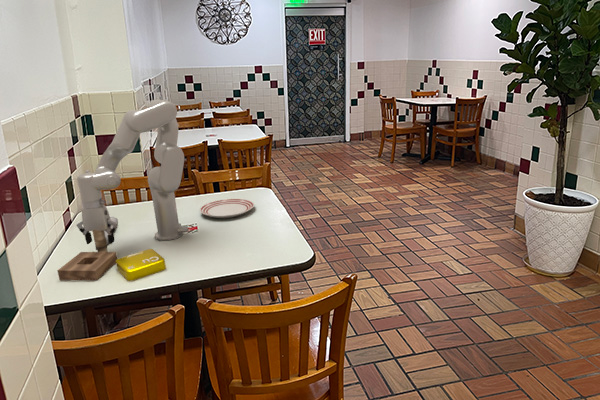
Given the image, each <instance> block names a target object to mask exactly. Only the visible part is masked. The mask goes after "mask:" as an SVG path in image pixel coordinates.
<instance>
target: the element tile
mask: <svg viewBox="0 0 600 400" xmlns="http://www.w3.org/2000/svg"><path fill="white" fill-rule="evenodd" d="M115 265H116V269H117V272H119V274H121V276H122V277H123V278H124V279H125V280H126V281H127V282H128V281H129V282H133V281H134V282H135V281H136V280H139V279H142V278H145V277H149V276H151V275H154V274H157V273H160V272H163V271H165V270H166V269H167V267H166V260H165V257H163V256H162V255H160V254H159V253H158V252H157V251H156V250H154V249H152V248H149V249H146V250H141V251H138V252H134V253H131V254H128V255H125V256H122V257H119V258H117V260H116V263H115Z"/></svg>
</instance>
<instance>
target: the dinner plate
mask: <svg viewBox="0 0 600 400" xmlns="http://www.w3.org/2000/svg"><path fill="white" fill-rule="evenodd" d="M254 207H255V203H254V202H252V201H251V200H248V199H245V198H225V199H218V200H213V201H209V202H207V203H205V204H203V205H202V206H200V207H199V213H200V214H203V215H204V216H207V217H210V218H216V219H228V218H234V217H238V216H241V215H243V214H245V213H248V212H249V211H251V210H252V209H253V208H254Z"/></svg>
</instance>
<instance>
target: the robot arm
mask: <svg viewBox="0 0 600 400" xmlns="http://www.w3.org/2000/svg"><path fill="white" fill-rule="evenodd" d="M177 115H178V108H177V106H176V104H174V103H173V102H172V101H169V100H163V99H153V100H151V101H150V102H149V103H148V106H147V108H145V109H142V110H137V109H129V110H128V111H126V112H125V114H124V115H123V117H122V119H121V122H119V123H120V124H119V126H118V128H117V131H116V133H115V135H114V136H113V139H112V142H111V143H110V144H109V145H108V147H107V148H106V150H105V151H104V152H103V154H102V155H101V157H100V159H99V161H98V164H97V166H96V168H95V170H94V172H88V173H86V172H85V173H80V174H79V175H77V179H76V180H77V185H78V189H79V194H80V199H81V203H82V208H81V221H80V222H78V223H77V224H76V227H77V229H78V230H79V231H80V232H81V233H82V235H83V236H84V240H85V241H86V244H87V245H89V244H91V243H92V242H93V237H92V233H91V232H92V231H93V230H97V231H106V232H107V233H108V234H109V235H108V241H109V243H108V245H112V244H113V243H114V242H115V235H114V233H115V232H116V230H118V229H117V228H118V225H119V222H118V223H116V222H114V221H111V219H110V217H111V216H110V213H109V210H108V208H107V206H106V200H104V198H103V195H102V193H101V192H102V191H103V190H105V191H107V190H113V189H116V188H118V187H119V186H120V184H121V182H122V181H121V179H122V178H121V176H120V175H119V173H118V172H116V170H117V167H118V165H119V163H120V162H121V161H122V160H123V159H124V158H125V157H126V156H128V155H130V154H131V153H132V152H133V151H134V149H135V146H136V144H137V142H138V140H139V138H140V135H141V134H144V133H148V132H150V131H153V130H156V129H157V132H156V134H157V135H156V140H155V146H154V153H153V154H154V155H153V157H154V159H155V161H157V162H158V163H159V164H160V166H155V167H152V168H151V169H150V171H149V172H148V175H147V182H148V187H149V189H150V194H151V197H152V204H153V205H152V206H153V211H154V217H155V222H156V229H157V231H156V232H155V233H154V238H155V239H156V240H158V241H171V240H176V239H178V238H180V237H182V236H183V235H184V233H189V228H188V227H187V226H183V225H182V223H179V217H178V216H179V215H178V209H177V203H176V194H175V192H176V191H177V190H178V188H180V184H181V180H182V177H183V170H184V163H185V154H184V152H183V149H182V148H181V147H179V146H178V137H179V123H178V121H177ZM111 226H113V228H111Z"/></svg>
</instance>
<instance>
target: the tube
mask: <svg viewBox="0 0 600 400" xmlns="http://www.w3.org/2000/svg"><path fill="white" fill-rule="evenodd" d="M110 219H111V221H114V222H116V223H118V224H119V220H118V218H116V217H114V216H110ZM111 228H113V226H111ZM104 232H105V237H106V242H107V245H109V241H108V235H109V234H108V233H107V232H106V231H104Z"/></svg>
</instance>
